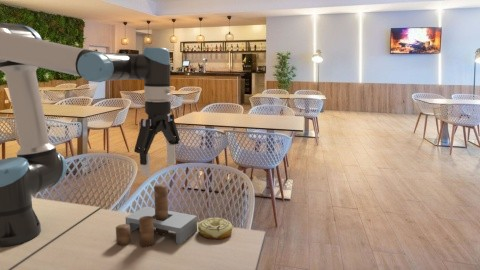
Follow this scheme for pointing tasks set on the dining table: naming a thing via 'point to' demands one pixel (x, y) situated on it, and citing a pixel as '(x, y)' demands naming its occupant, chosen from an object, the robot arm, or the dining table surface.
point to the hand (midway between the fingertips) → (159, 169)
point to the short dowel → (123, 234)
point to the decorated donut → (215, 228)
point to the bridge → (166, 222)
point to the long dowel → (161, 205)
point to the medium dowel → (146, 231)
